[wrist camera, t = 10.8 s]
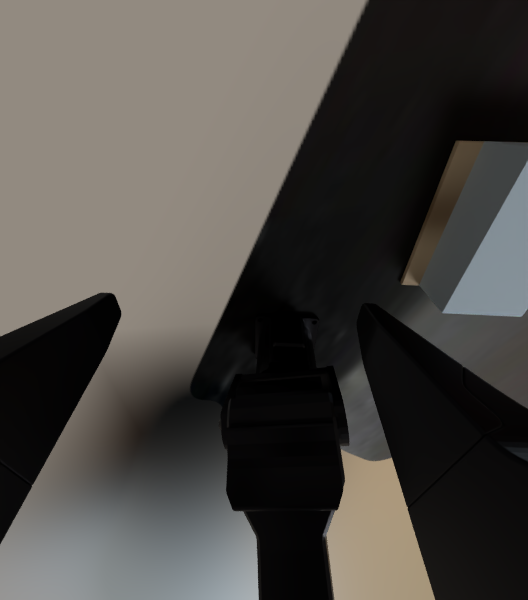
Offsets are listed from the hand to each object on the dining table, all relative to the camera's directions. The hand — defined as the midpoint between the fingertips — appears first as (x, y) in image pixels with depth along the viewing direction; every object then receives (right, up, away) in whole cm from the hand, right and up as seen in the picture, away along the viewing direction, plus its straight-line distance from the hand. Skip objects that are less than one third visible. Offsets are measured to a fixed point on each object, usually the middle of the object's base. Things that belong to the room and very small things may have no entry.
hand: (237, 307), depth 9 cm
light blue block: (+18, +6, +10) cm, 22 cm away
